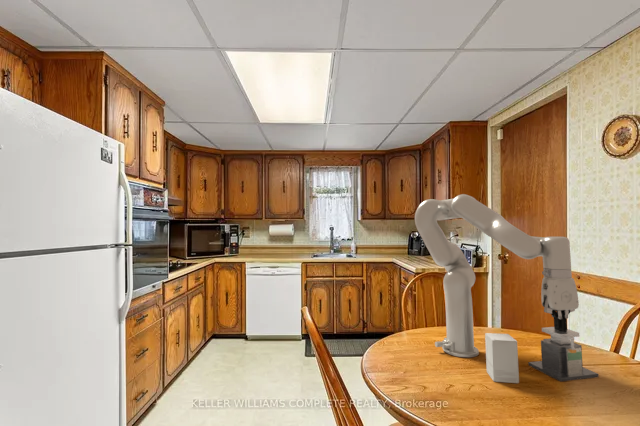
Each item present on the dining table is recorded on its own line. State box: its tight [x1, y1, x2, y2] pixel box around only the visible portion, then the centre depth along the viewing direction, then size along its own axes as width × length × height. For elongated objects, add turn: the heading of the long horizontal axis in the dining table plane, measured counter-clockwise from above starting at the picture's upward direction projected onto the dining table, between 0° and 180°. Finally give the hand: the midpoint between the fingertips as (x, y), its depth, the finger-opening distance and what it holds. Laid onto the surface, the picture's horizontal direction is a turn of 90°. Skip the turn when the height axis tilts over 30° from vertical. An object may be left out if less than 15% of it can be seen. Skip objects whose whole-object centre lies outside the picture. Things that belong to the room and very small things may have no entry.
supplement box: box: [484, 332, 520, 384], centre depth 103 cm, size 7×7×13 cm
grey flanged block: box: [541, 326, 580, 350], centre depth 105 cm, size 7×9×9 cm
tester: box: [527, 337, 600, 382], centre depth 106 cm, size 14×12×9 cm
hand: (560, 330), depth 107 cm, fingers closed
